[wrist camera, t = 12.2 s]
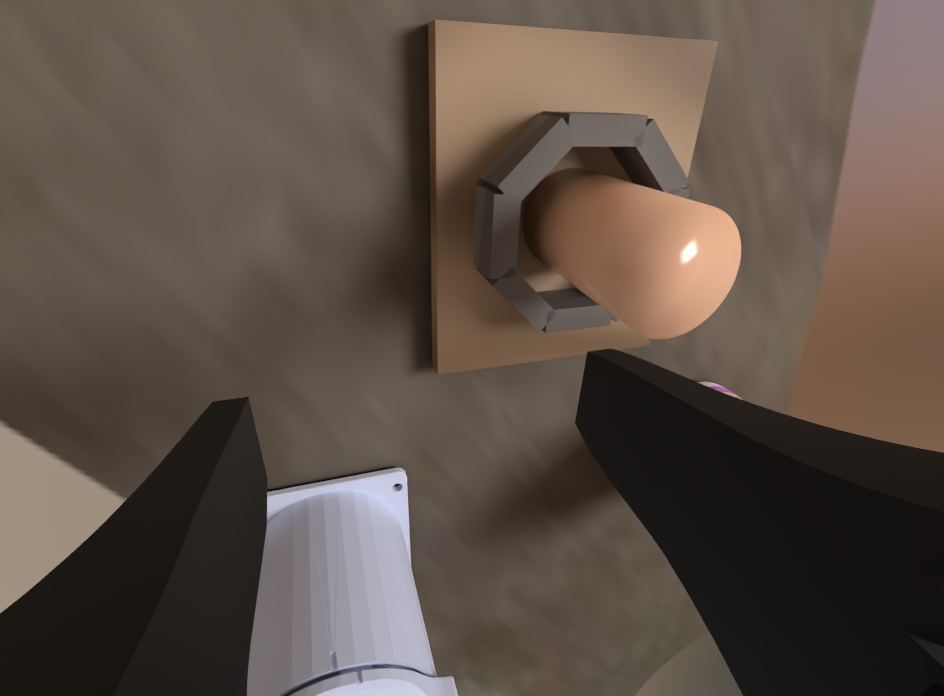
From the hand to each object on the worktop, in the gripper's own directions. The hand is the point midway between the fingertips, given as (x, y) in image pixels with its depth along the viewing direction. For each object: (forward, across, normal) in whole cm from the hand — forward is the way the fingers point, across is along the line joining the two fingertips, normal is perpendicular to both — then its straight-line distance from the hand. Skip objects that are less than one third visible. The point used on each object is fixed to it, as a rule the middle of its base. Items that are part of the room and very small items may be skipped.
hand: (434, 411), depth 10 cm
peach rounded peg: (+9, -8, -1) cm, 12 cm away
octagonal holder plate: (+10, -8, -1) cm, 13 cm away
